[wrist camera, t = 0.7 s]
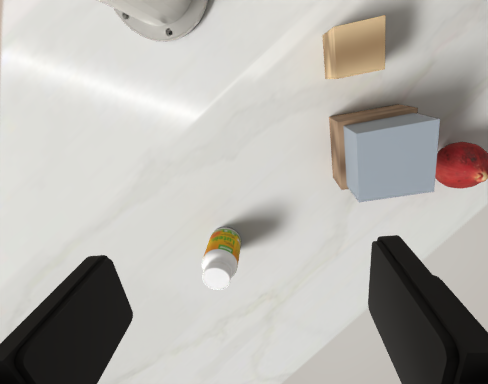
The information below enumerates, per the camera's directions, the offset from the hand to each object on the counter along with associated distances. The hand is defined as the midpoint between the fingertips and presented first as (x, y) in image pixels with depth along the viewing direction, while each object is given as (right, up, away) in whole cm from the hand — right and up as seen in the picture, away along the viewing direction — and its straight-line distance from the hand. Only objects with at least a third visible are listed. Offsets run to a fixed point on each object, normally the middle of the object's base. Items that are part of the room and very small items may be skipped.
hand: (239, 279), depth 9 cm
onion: (+28, +8, +28) cm, 41 cm away
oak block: (+13, +21, +24) cm, 34 cm away
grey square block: (+17, +8, +23) cm, 30 cm away
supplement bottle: (-3, -5, +36) cm, 37 cm away
